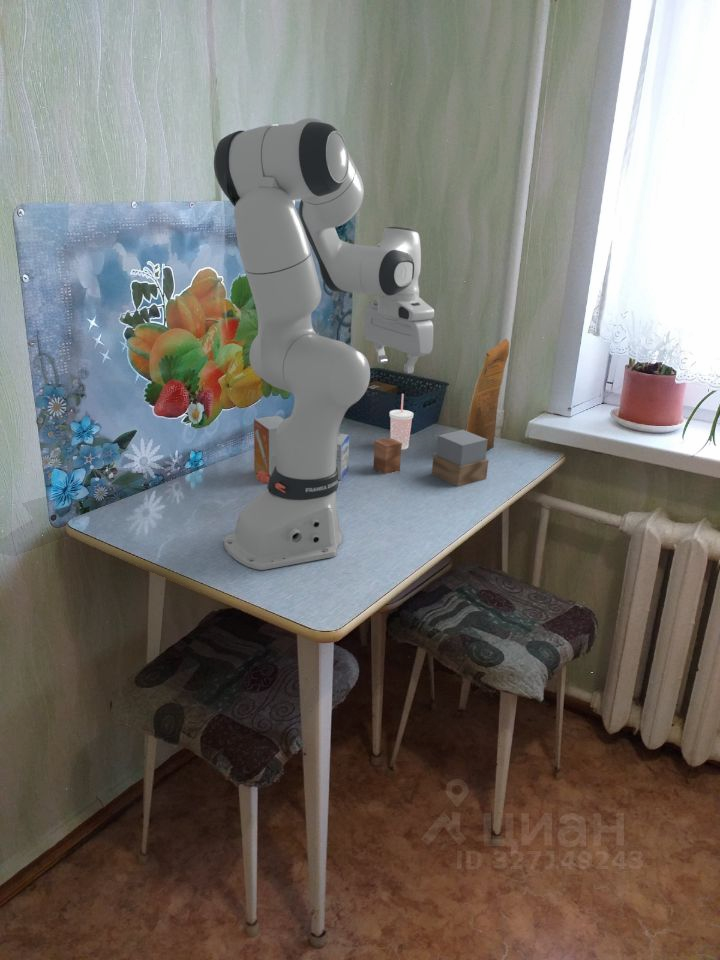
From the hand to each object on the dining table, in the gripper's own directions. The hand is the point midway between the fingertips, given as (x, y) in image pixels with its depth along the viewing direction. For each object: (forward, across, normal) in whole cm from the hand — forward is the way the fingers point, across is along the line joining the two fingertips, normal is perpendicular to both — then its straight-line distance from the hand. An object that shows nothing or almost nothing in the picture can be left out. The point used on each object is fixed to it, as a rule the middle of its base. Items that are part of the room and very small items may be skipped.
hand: (395, 367), depth 170 cm
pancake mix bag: (+26, +1, +28) cm, 38 cm away
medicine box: (+25, -5, -13) cm, 28 cm away
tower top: (+20, +11, +12) cm, 26 cm away
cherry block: (+25, -1, -1) cm, 25 cm away
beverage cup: (+25, -12, +12) cm, 31 cm away
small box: (+24, -10, -26) cm, 37 cm away
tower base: (+25, +11, +12) cm, 30 cm away
